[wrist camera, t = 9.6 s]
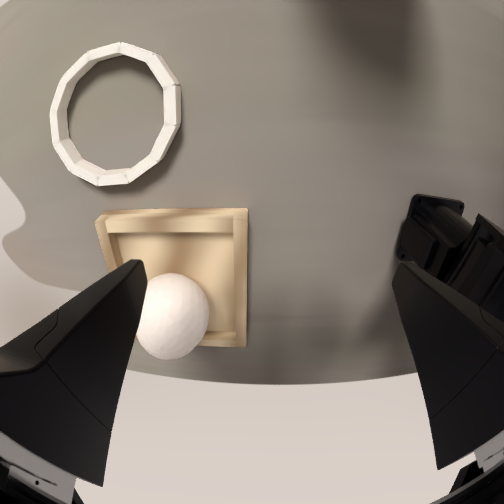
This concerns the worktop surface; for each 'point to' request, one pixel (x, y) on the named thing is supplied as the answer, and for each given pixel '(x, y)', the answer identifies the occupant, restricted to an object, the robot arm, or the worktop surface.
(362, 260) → the worktop surface
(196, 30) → the worktop surface
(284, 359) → the worktop surface
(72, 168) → the white faceted hoop
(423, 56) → the worktop surface
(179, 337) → the egg
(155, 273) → the tray
